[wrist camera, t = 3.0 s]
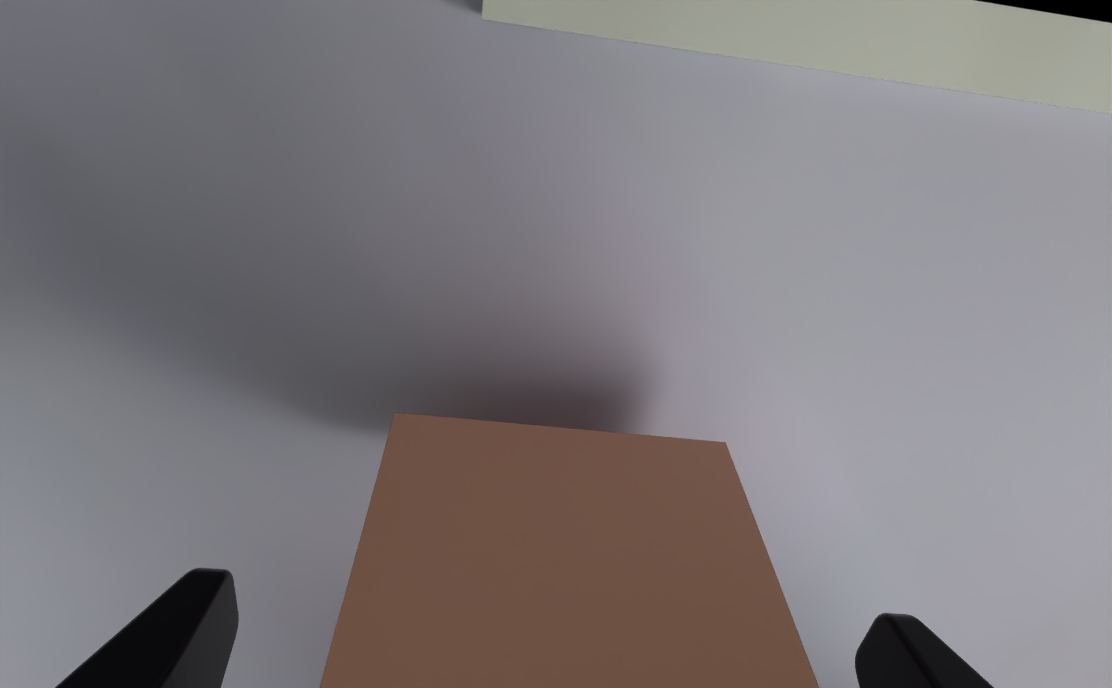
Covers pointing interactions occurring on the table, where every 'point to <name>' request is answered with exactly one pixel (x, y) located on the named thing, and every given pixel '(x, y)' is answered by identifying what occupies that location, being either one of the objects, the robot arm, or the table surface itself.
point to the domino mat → (863, 40)
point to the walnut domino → (1065, 7)
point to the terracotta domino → (560, 566)
